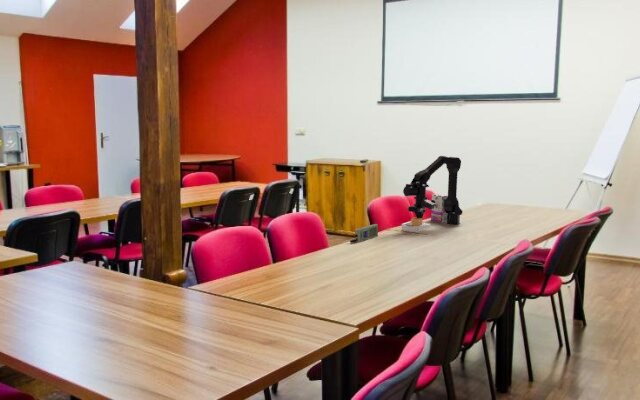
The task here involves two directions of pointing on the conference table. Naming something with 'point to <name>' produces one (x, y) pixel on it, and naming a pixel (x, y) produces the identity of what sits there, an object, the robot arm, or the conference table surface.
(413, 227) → the white box
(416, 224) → the orange cube
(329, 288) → the conference table surface
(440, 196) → the candy bar box
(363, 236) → the handheld radio
